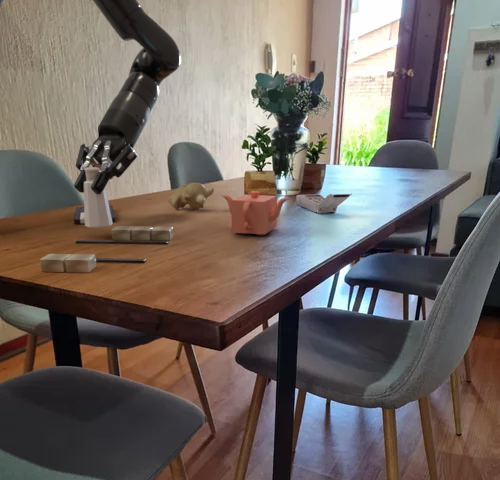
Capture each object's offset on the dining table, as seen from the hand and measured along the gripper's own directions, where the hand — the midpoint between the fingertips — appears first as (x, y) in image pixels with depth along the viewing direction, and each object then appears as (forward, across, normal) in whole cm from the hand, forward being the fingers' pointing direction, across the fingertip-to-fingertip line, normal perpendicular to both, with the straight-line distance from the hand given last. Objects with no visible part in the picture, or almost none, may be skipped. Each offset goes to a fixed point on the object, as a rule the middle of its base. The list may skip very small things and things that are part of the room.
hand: (86, 190), depth 97 cm
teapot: (-9, +24, +22) cm, 34 cm away
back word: (+5, +6, +9) cm, 12 cm away
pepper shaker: (+4, 0, +6) cm, 7 cm away
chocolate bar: (-6, -18, +20) cm, 28 cm away
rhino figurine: (-20, -4, +34) cm, 39 cm away
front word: (+17, +15, -3) cm, 23 cm away
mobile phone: (-31, +25, +45) cm, 60 cm away
